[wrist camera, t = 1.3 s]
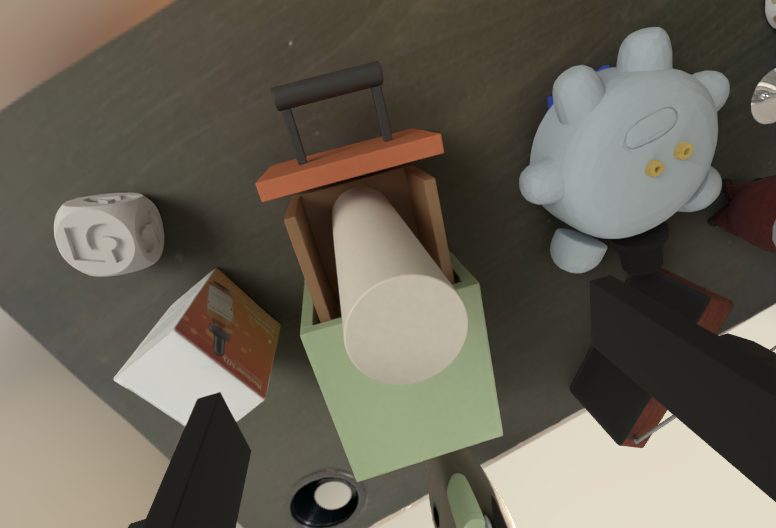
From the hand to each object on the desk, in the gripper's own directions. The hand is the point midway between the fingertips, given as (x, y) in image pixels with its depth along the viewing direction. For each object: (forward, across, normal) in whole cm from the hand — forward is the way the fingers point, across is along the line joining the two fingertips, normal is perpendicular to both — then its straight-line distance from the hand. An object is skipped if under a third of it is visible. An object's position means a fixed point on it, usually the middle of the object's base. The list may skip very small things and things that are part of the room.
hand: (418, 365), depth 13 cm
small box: (+22, -14, -6) cm, 27 cm away
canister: (+20, 0, 0) cm, 20 cm away
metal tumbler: (+22, +2, -28) cm, 36 cm away
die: (+22, -18, +4) cm, 29 cm away
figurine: (+22, +22, -2) cm, 31 cm away
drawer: (+21, 0, +2) cm, 21 cm away
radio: (+22, +24, -20) cm, 38 cm away
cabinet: (+22, 0, -12) cm, 25 cm away
